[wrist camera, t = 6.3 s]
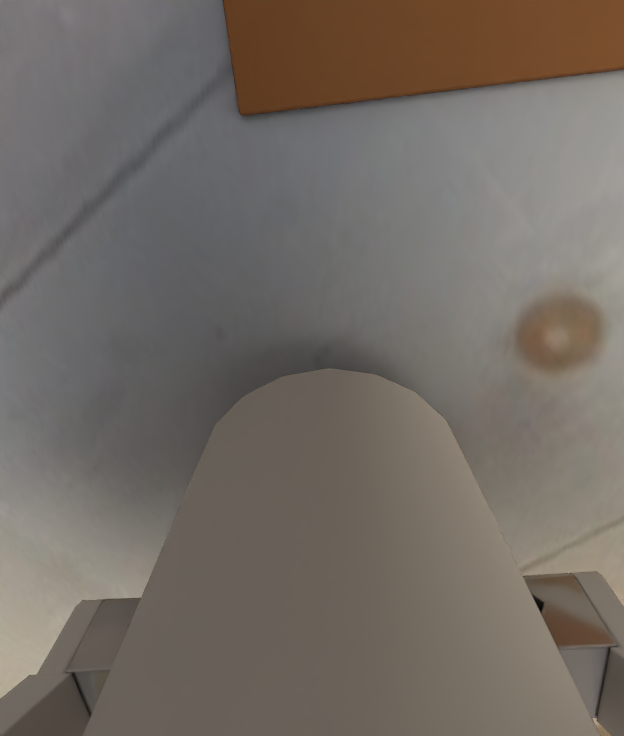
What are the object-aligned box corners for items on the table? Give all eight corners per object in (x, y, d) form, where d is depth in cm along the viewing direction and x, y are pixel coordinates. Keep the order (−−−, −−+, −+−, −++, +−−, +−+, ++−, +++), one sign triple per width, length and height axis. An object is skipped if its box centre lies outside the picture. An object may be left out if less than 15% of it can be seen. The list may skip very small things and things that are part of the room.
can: (420, 318, 12) (1200, 1525, 1) (483, 535, 15) (922, 1545, 4) (161, 403, 14) (-557, 1450, 2) (262, 592, 16) (129, 1503, 5)
